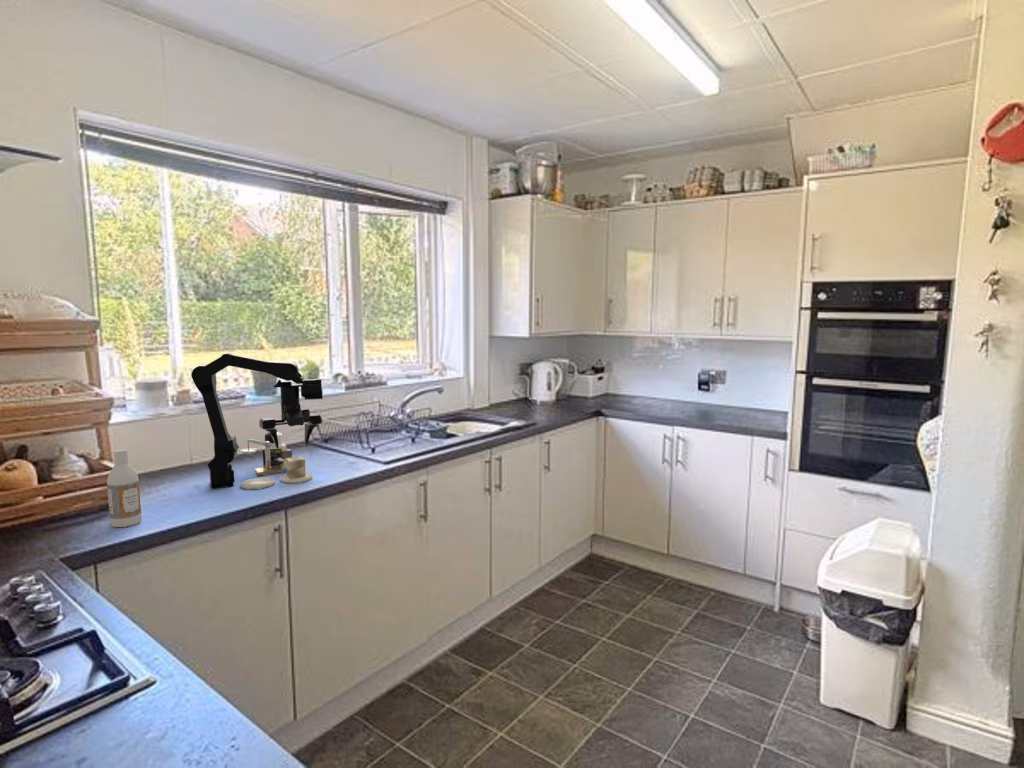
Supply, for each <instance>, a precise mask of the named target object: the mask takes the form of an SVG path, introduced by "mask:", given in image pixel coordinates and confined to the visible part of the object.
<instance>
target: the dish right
mask: <svg viewBox="0 0 1024 768" xmlns="http://www.w3.org/2000/svg"><path fill="white" fill-rule="evenodd" d="M305 472H306V477H301V478H295V479H289V478H288V477H287V473H285V474H283V475H281V476H280V477H279V478H280V480H279V481H280V482H281V483H283V484H300V483H299V482H302V483H305V481H306V482H309V481H310V479H311V478H313V474H312V473H310V472H307V471H305ZM308 480H309V481H308ZM311 480H312V479H311Z"/></svg>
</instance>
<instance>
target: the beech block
mask: <svg viewBox="0 0 1024 768" xmlns="http://www.w3.org/2000/svg"><path fill="white" fill-rule="evenodd" d="M285 468H286V469H285V471H286V473H285V474H287V477H288V478H289V479H295V478H301V477H306V472H307V471H306V459H305V458H304V457H303V456H295V457H292V458H286V463H285Z"/></svg>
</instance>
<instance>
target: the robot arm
mask: <svg viewBox="0 0 1024 768" xmlns="http://www.w3.org/2000/svg"><path fill="white" fill-rule="evenodd" d="M227 367H234V368H238V369H245V370H248V371H249V370H250V371H255V372H260V373H265V374H269V375H271V376H273V377H276V378H278V380H277V382H276V383H275V384H274V385H273V388H279V389H280V410H281V412H280V413H281V416H280V417H281V418H279V419H277V418H274V417H272V416H271V417H261V418H260V419H259V421H258V422H259V425H258V426H259V428H261V430H265V431H266V432H268V433H270V434H271V436H272V438H273V441H274V443H275V445H276V448H277V449H278V438H277V432H278V429H277V428H276V426H283V425H288V426H289V427H295V426H304V445H306V446H308V444H309V440H310V437H311V435H312V432H313V430H314V429H315V427H318V426H319V425H320V424H321V425H322V424H323V420H322V418H323V417H322V416H321V415H320V414H318V413H311V412H310V409H308V408H307V409H302V408H301V403H300V395H301V398H304V400H305V401H306V400H307V401H308V400H309V401H310V400H323V399H324V398H323V387H322V385H323V384H322V378H316V379H305V377H304V376H303V375H302V374H301V373H300V372H299V369H300V368H299V367H298V364H297V363H295V362H293V361H282V360H281V361H270V360H265V359H259V358H254V357H249V356H245V355H244V356H243V355H239V354H234V353H233V352H226V353H223V354H222V355H220V357H218V358H217V359H214V360H213V361H211V362H209V363H205V364H201V365H198V366H195V368H193V369H192V371H191V373H190V375H191V376H190V377H191V379H192V381H193V383H194V385H195V388H197V390H198V392H199V393H200V394H201V396H202V399H203V403H204V406H205V410H206V413H207V416H208V417H207V418H208V419H209V420H208V421H209V424H210V427H211V431H212V434H213V439H214V440H213V452H214V456H213V457H212V458H211V459H210V461H209V462H208V463H207V467H208V470H209V473H208V474H209V483H208V484H209V487H210V488H211V489H212V490H213V489H219V488H226V487H232V486H235V484H234V483H235V481H236V480H235V470H234V469H233V467H232V464H231V462H233V461H234V459H235V457H236V456H237V454H238V453H239V448H240V446H239V445H238V442H237V437H236V435H235V436H231V435H230V432H229V431H228V428H227V424H226V420H225V417H224V413H223V411H222V410H223V409H222V406H221V403H220V400H219V396H218V393H217V373H219V372H221V371H222V370H224V369H226V368H227ZM281 379H282V380H284V381H282V380H281ZM294 383H295V384H294Z"/></svg>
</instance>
